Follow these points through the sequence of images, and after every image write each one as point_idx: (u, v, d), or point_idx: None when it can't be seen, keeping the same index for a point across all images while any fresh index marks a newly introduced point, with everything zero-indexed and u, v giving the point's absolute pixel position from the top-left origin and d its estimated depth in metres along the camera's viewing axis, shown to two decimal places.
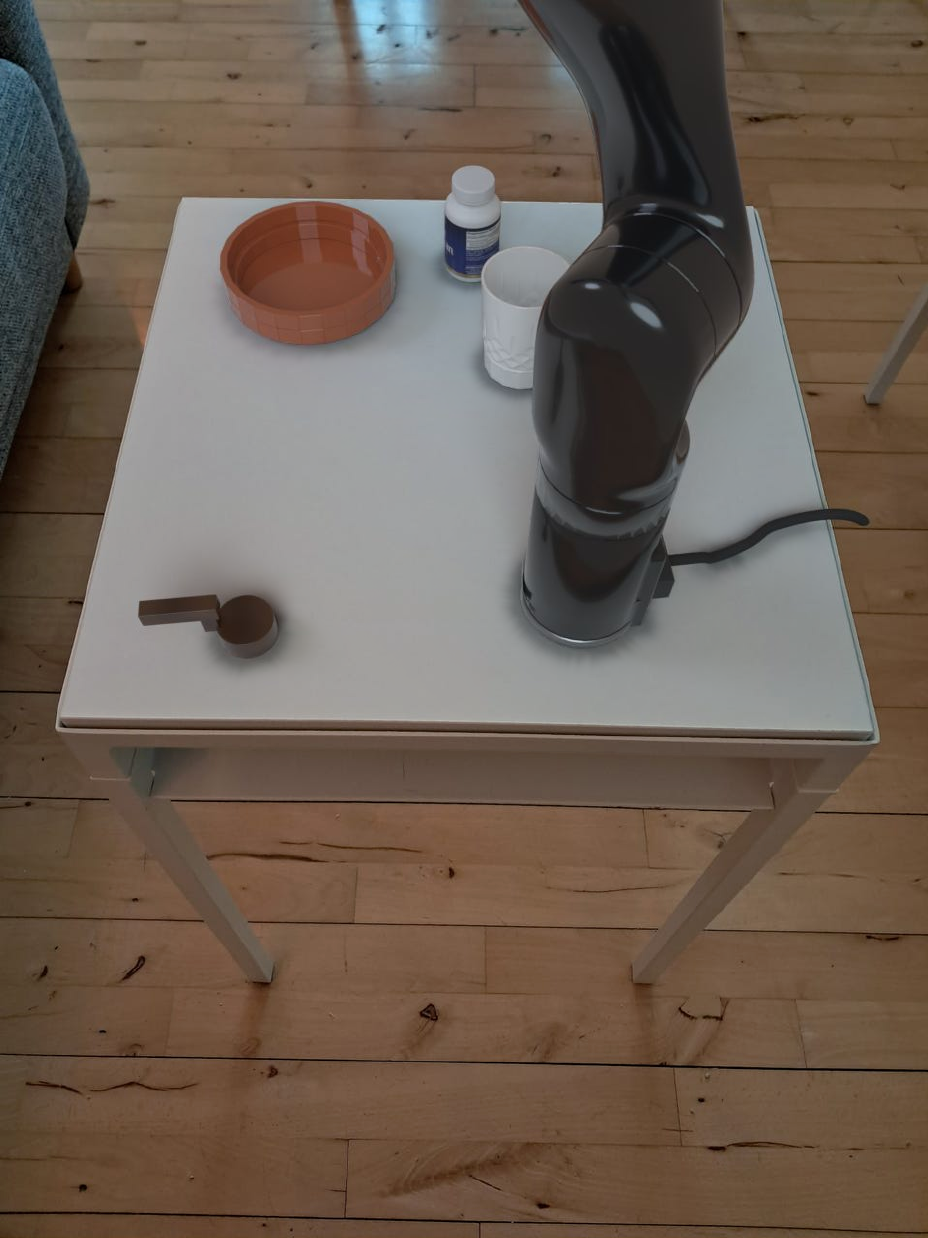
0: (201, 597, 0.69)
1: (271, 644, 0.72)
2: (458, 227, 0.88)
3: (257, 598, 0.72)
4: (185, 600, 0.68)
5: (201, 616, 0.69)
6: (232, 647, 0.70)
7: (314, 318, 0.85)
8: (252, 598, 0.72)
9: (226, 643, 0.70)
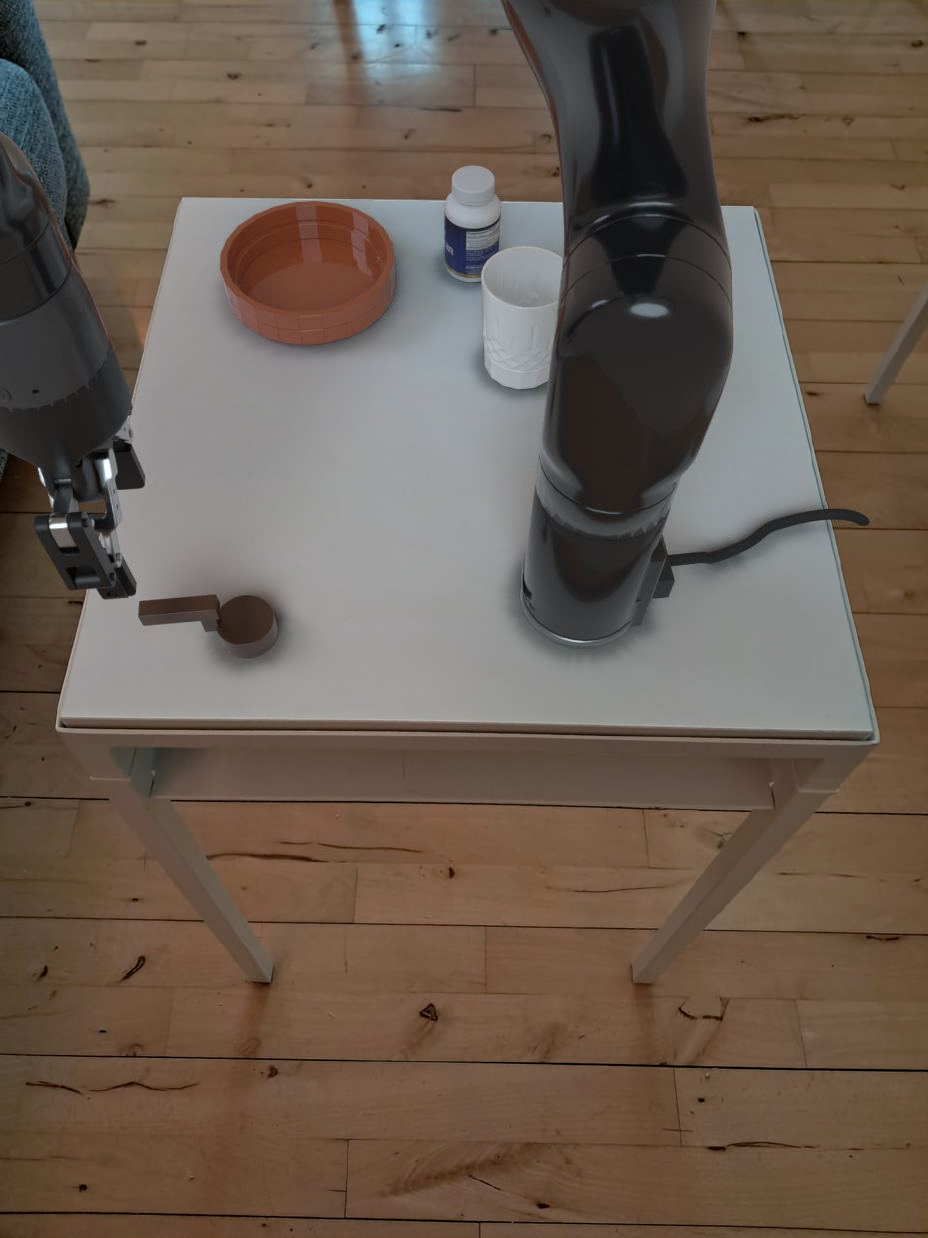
0: (201, 597, 0.69)
1: (271, 644, 0.72)
2: (458, 227, 0.88)
3: (257, 598, 0.72)
4: (185, 600, 0.68)
5: (201, 616, 0.69)
6: (232, 647, 0.70)
7: (314, 318, 0.85)
8: (252, 598, 0.72)
9: (226, 643, 0.70)
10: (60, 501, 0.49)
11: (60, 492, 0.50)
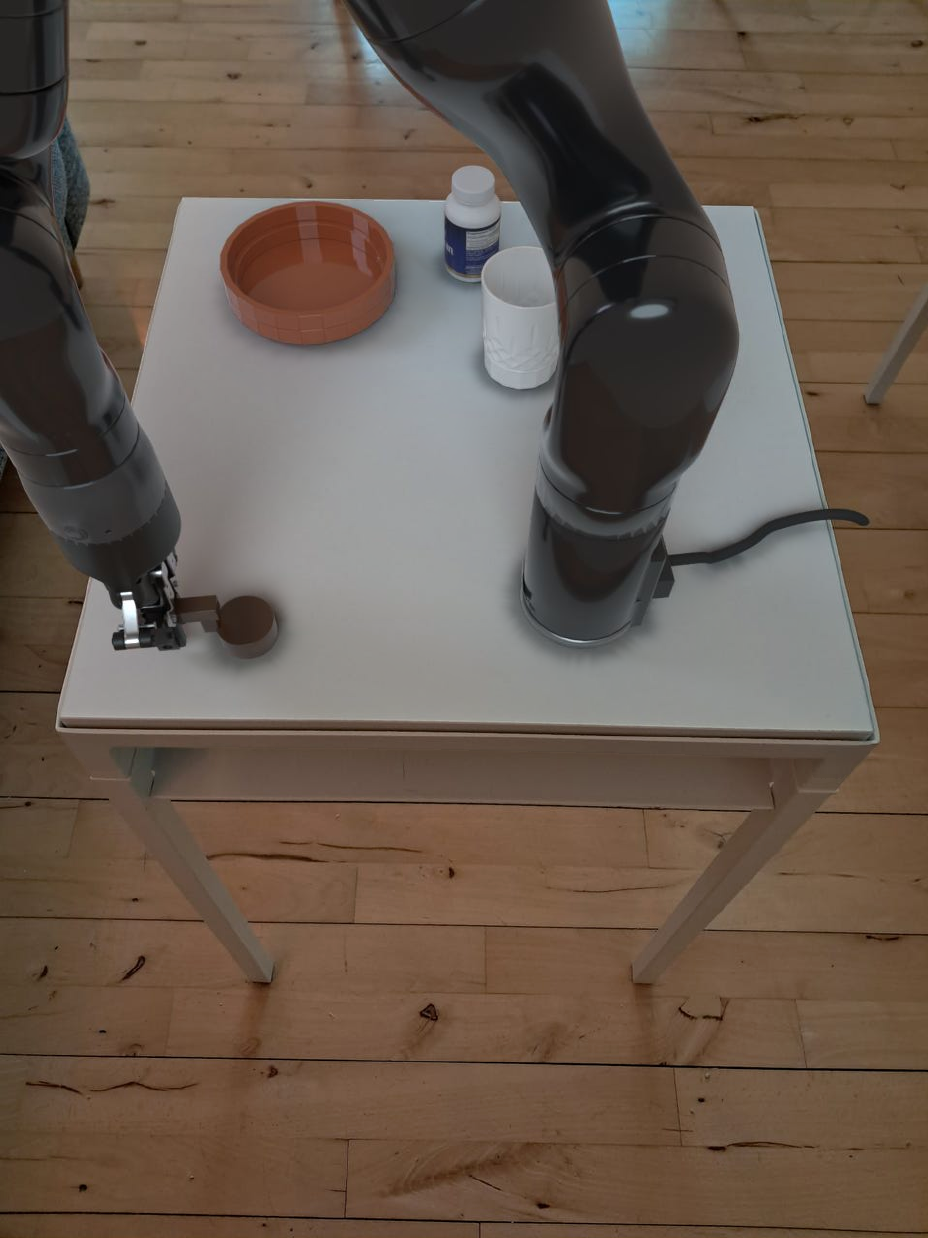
0: (201, 598, 0.69)
1: (271, 644, 0.72)
2: (458, 227, 0.88)
3: (257, 598, 0.72)
4: (185, 601, 0.68)
5: (201, 617, 0.69)
6: (232, 647, 0.70)
7: (314, 318, 0.85)
8: (252, 598, 0.72)
9: (226, 644, 0.70)
10: (129, 621, 0.60)
11: (126, 611, 0.60)
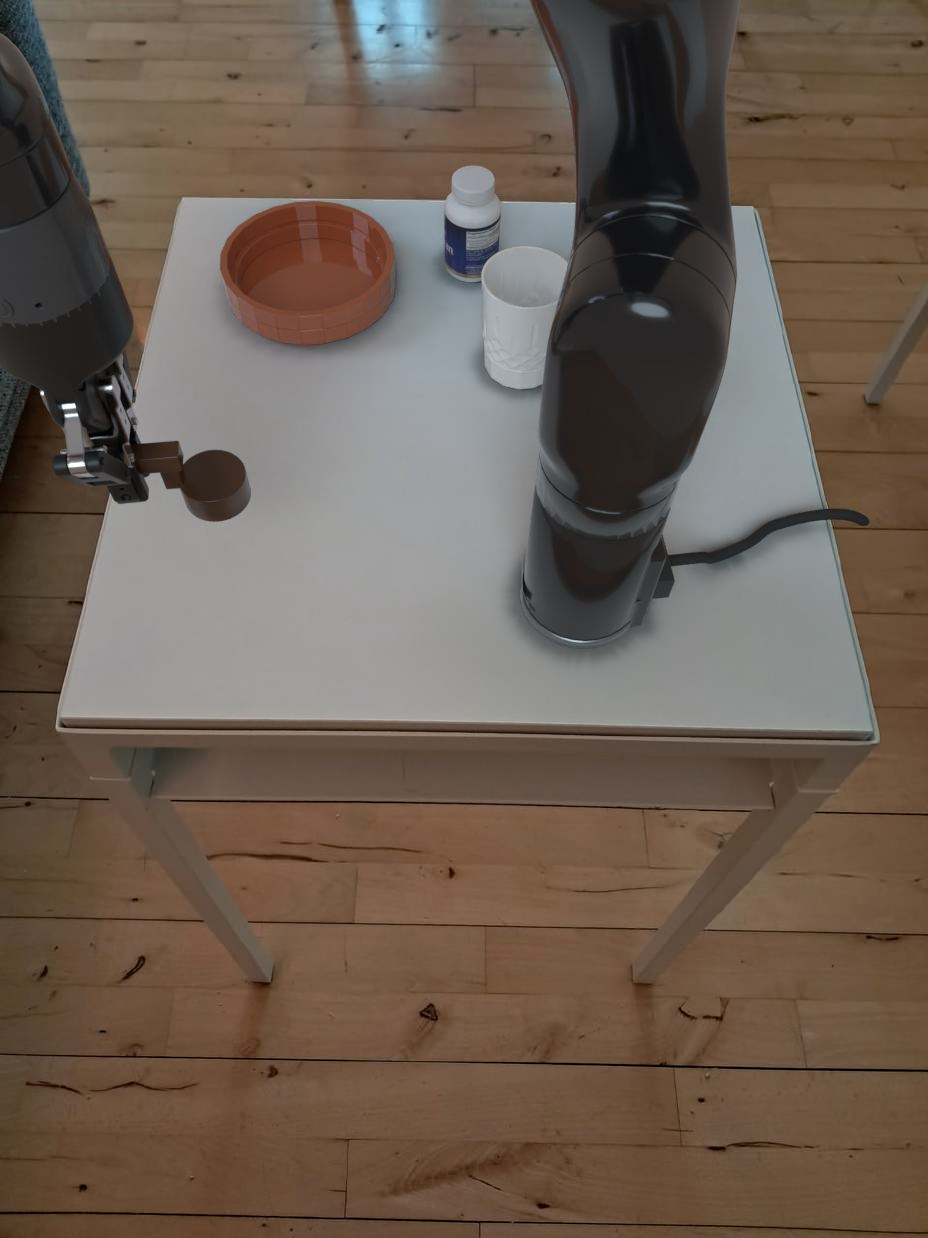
0: (161, 443, 0.59)
1: (243, 506, 0.63)
2: (458, 227, 0.88)
3: (226, 453, 0.62)
4: (142, 447, 0.59)
5: (161, 466, 0.59)
6: (197, 505, 0.61)
7: (314, 318, 0.85)
8: (221, 453, 0.62)
9: (190, 501, 0.61)
10: (72, 439, 0.50)
11: (69, 428, 0.50)
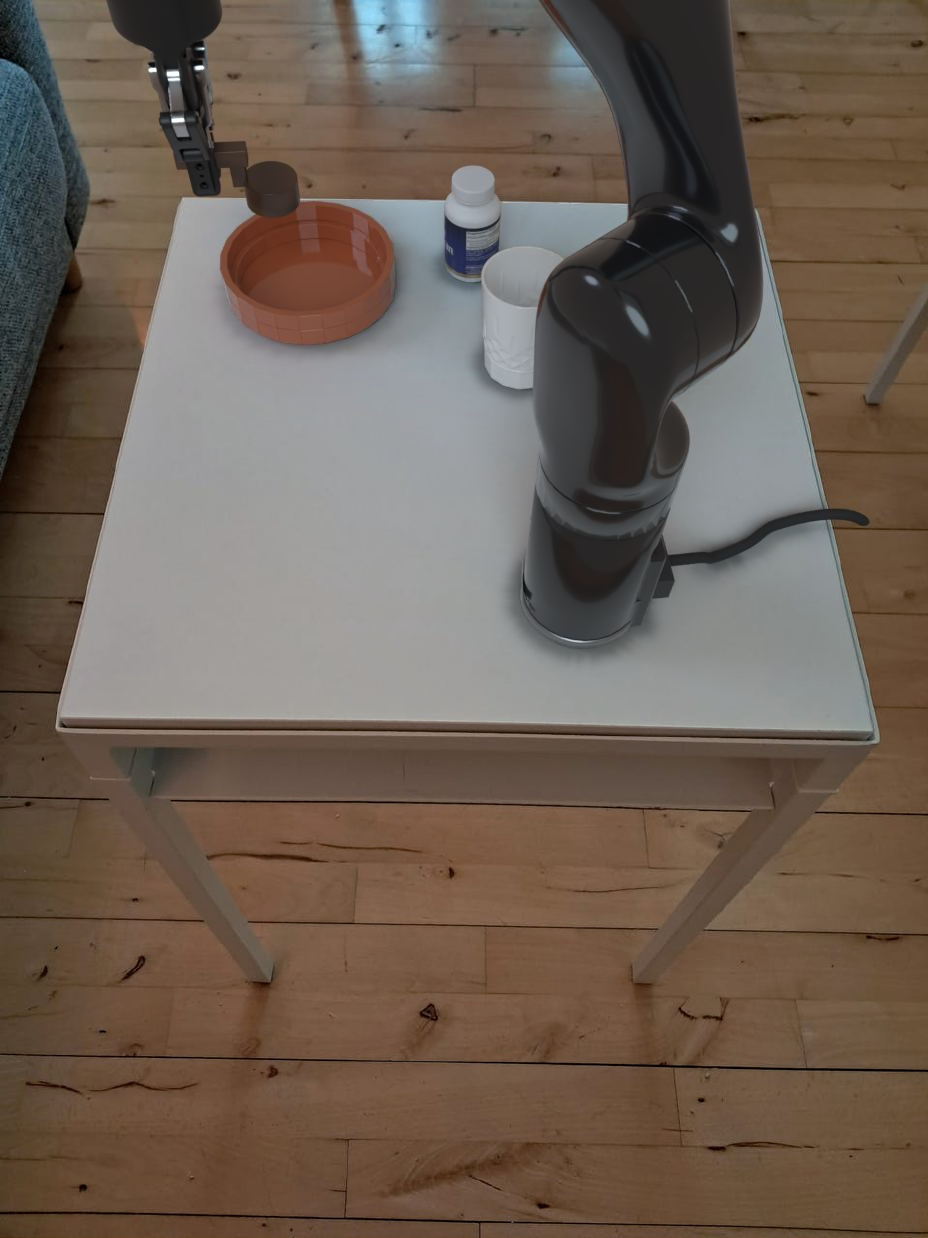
0: (231, 142, 0.74)
1: (294, 206, 0.77)
2: (458, 227, 0.88)
3: (281, 163, 0.77)
4: (216, 144, 0.74)
5: (231, 160, 0.74)
6: (259, 199, 0.76)
7: (314, 318, 0.85)
8: (276, 162, 0.77)
9: (253, 196, 0.76)
10: (175, 99, 0.65)
11: (172, 90, 0.65)
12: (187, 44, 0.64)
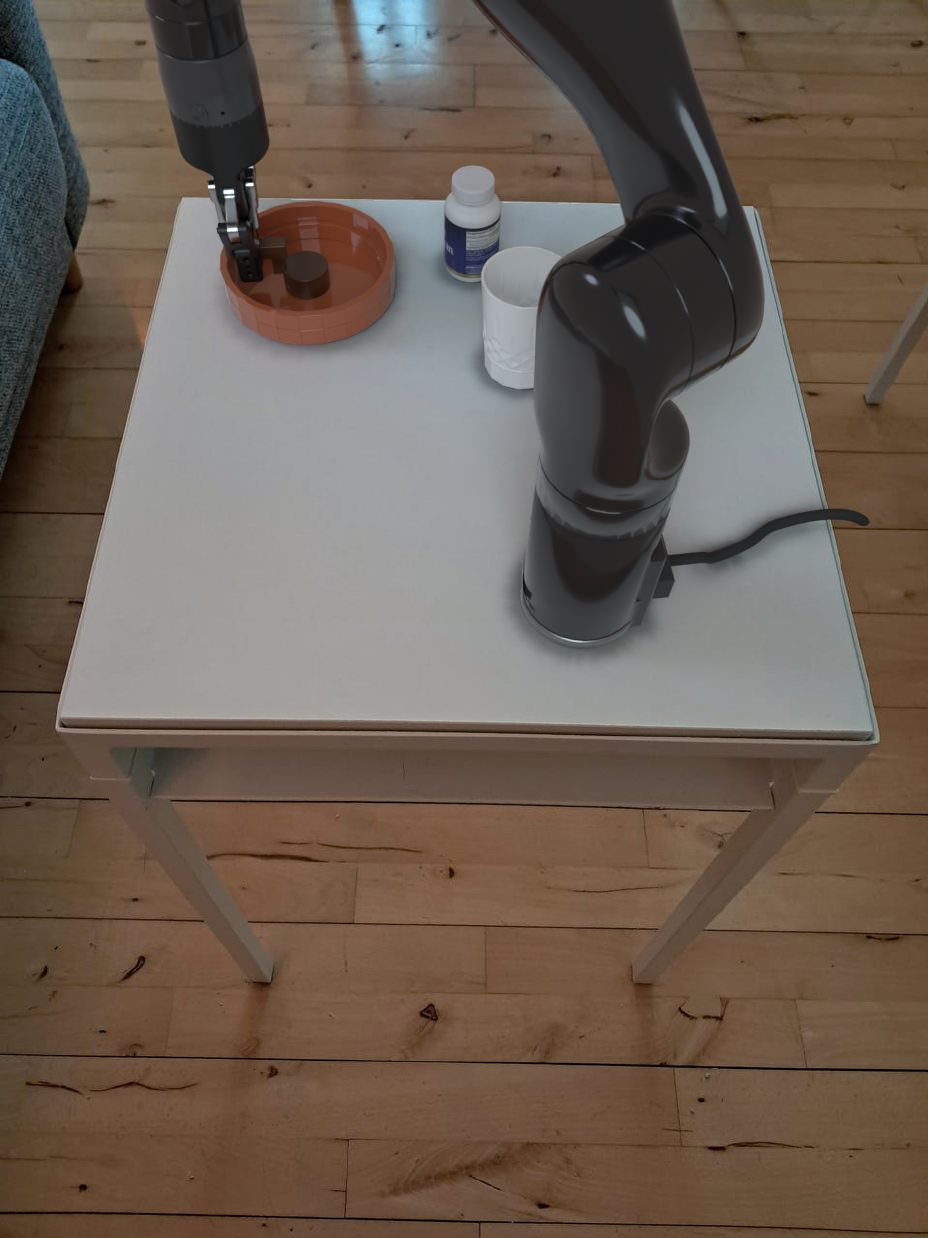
0: (273, 238, 0.88)
1: (325, 289, 0.91)
2: (458, 227, 0.88)
3: (314, 252, 0.91)
4: (261, 239, 0.88)
5: (273, 253, 0.88)
6: (295, 284, 0.90)
7: (314, 318, 0.85)
8: (310, 252, 0.91)
9: (291, 281, 0.90)
10: (230, 213, 0.79)
11: (228, 205, 0.79)
12: (241, 170, 0.77)
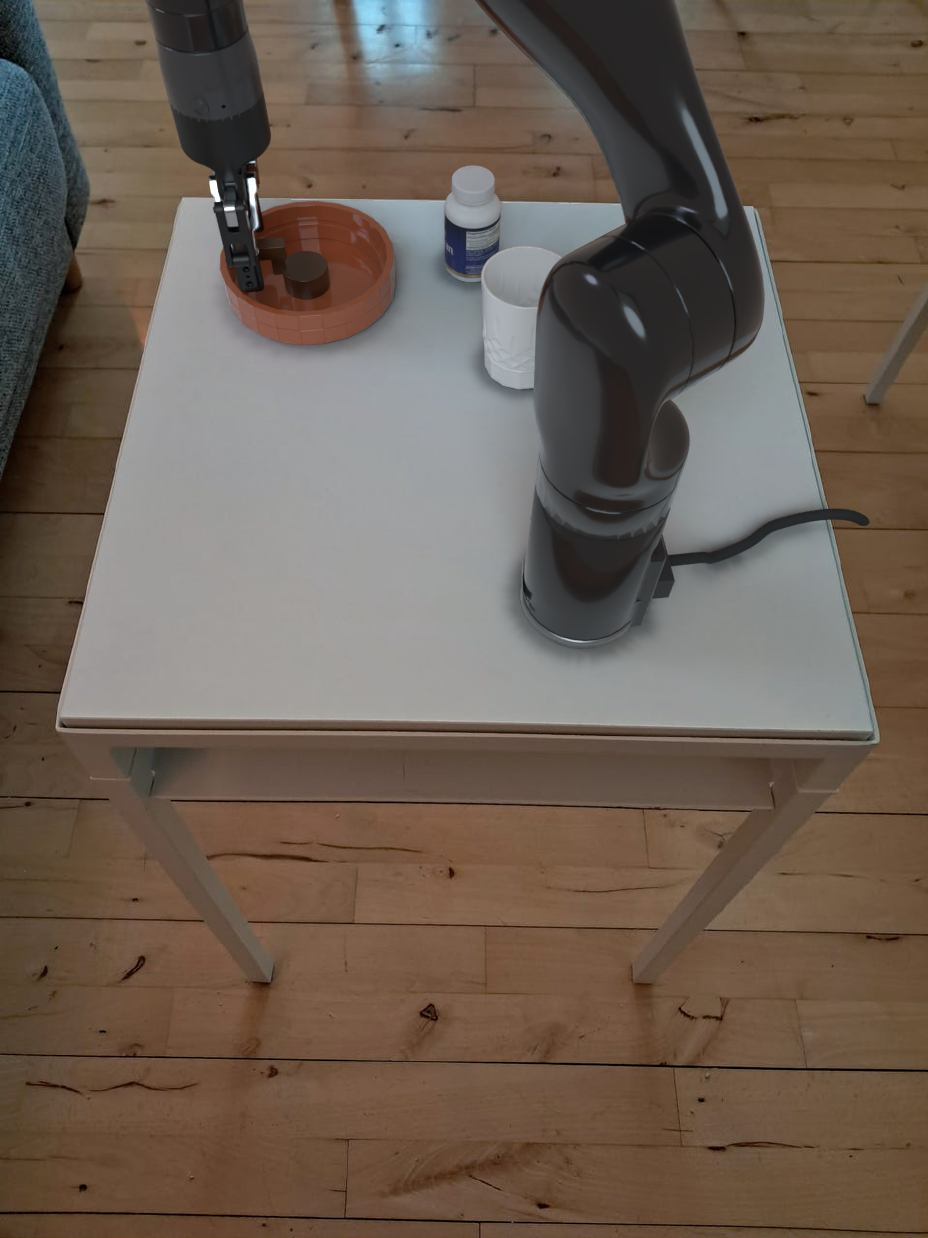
0: (272, 239, 0.88)
1: (325, 289, 0.91)
2: (458, 227, 0.88)
3: (314, 252, 0.91)
4: (260, 240, 0.88)
5: (272, 254, 0.88)
6: (295, 285, 0.90)
7: (314, 318, 0.85)
8: (310, 252, 0.91)
9: (290, 282, 0.90)
10: (228, 195, 0.77)
11: (227, 190, 0.78)
12: (242, 164, 0.77)
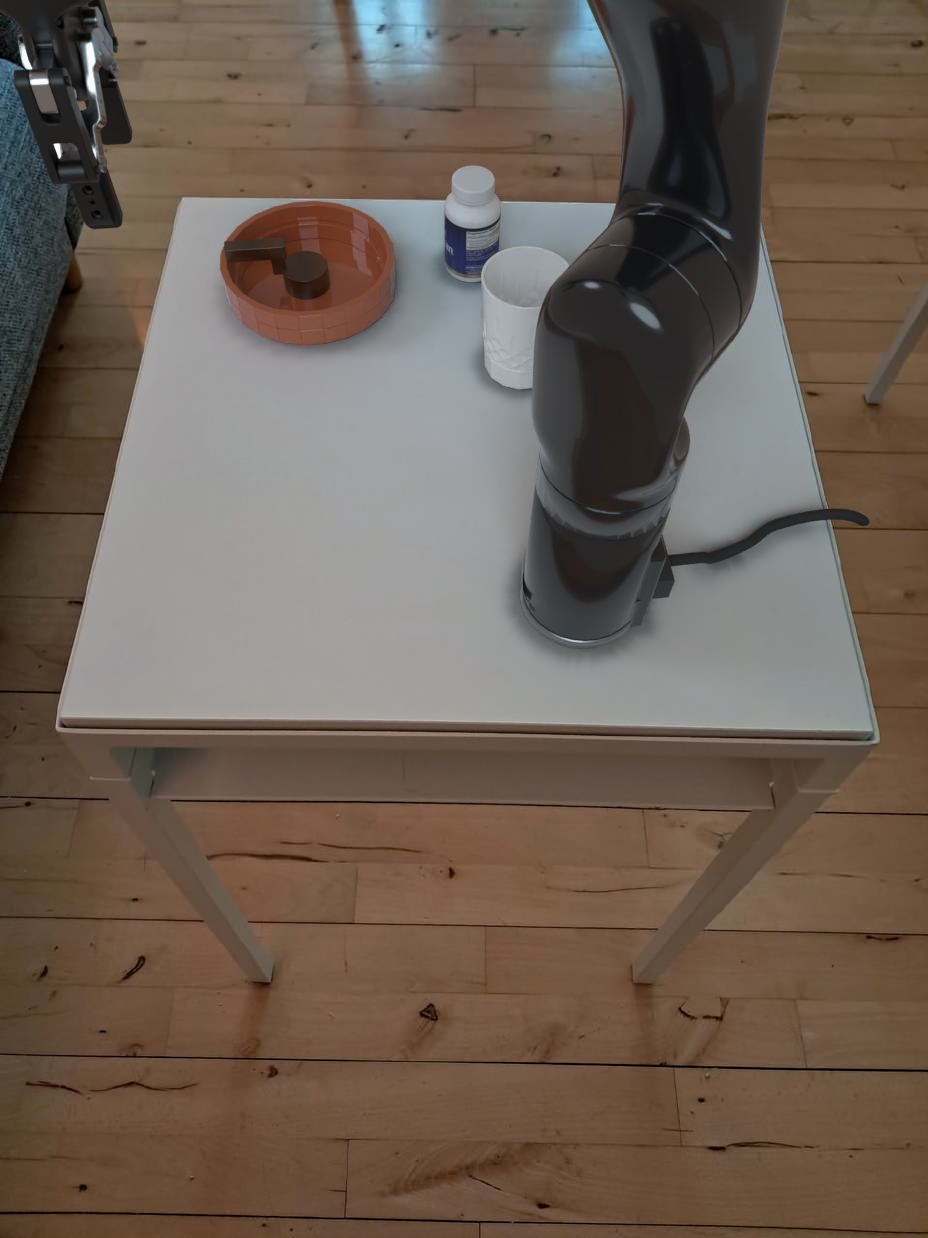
0: (272, 239, 0.88)
1: (325, 289, 0.91)
2: (458, 227, 0.88)
3: (314, 252, 0.91)
4: (260, 240, 0.88)
5: (272, 254, 0.88)
6: (295, 285, 0.90)
7: (314, 318, 0.85)
8: (310, 252, 0.91)
9: (290, 282, 0.90)
10: (41, 61, 0.48)
11: (41, 54, 0.48)
12: (62, 10, 0.48)
